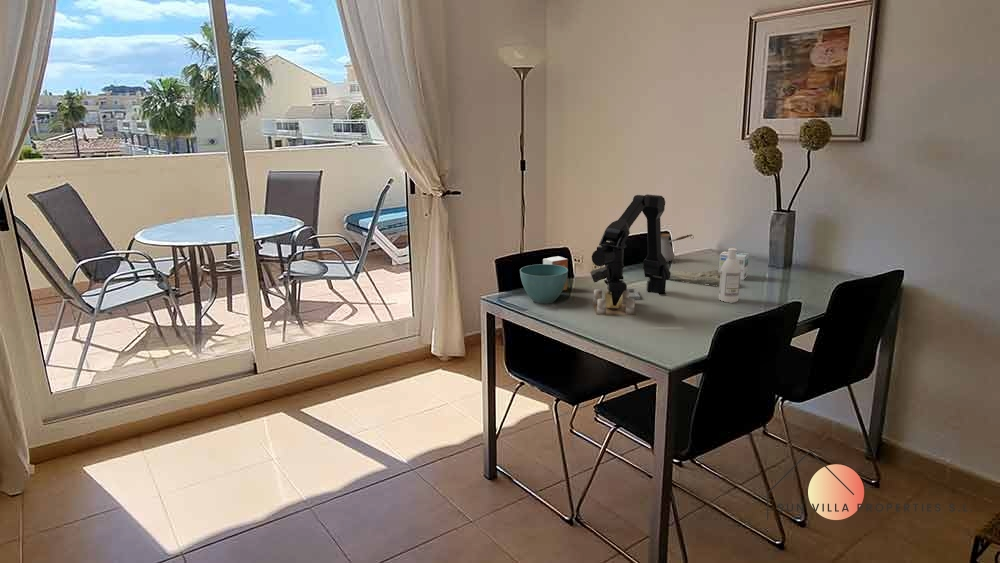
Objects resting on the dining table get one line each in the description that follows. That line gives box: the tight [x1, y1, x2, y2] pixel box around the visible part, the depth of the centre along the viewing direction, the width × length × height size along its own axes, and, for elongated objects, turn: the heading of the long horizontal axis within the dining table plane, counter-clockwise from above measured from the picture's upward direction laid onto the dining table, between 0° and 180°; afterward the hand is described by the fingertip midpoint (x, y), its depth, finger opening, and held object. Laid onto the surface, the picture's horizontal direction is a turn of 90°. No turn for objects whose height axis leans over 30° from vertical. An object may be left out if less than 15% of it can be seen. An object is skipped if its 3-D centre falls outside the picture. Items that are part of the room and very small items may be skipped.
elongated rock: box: [668, 269, 721, 286], centre depth 262 cm, size 35×5×10 cm
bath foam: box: [718, 247, 741, 303], centre depth 233 cm, size 7×7×20 cm
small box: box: [542, 255, 569, 291], centre depth 251 cm, size 8×6×13 cm
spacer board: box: [591, 288, 637, 316], centre depth 225 cm, size 14×16×6 cm
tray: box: [606, 288, 641, 301], centre depth 241 cm, size 11×11×2 cm
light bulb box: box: [718, 251, 749, 280], centre depth 266 cm, size 11×7×11 cm, turn 58°
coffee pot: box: [661, 232, 694, 263], centre depth 293 cm, size 21×12×15 cm, turn 42°
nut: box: [604, 290, 623, 308], centre depth 225 cm, size 6×6×5 cm
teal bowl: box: [519, 263, 569, 304], centre depth 237 cm, size 18×18×12 cm
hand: (613, 303), depth 225 cm, fingers closed on nut, 5 cm apart
